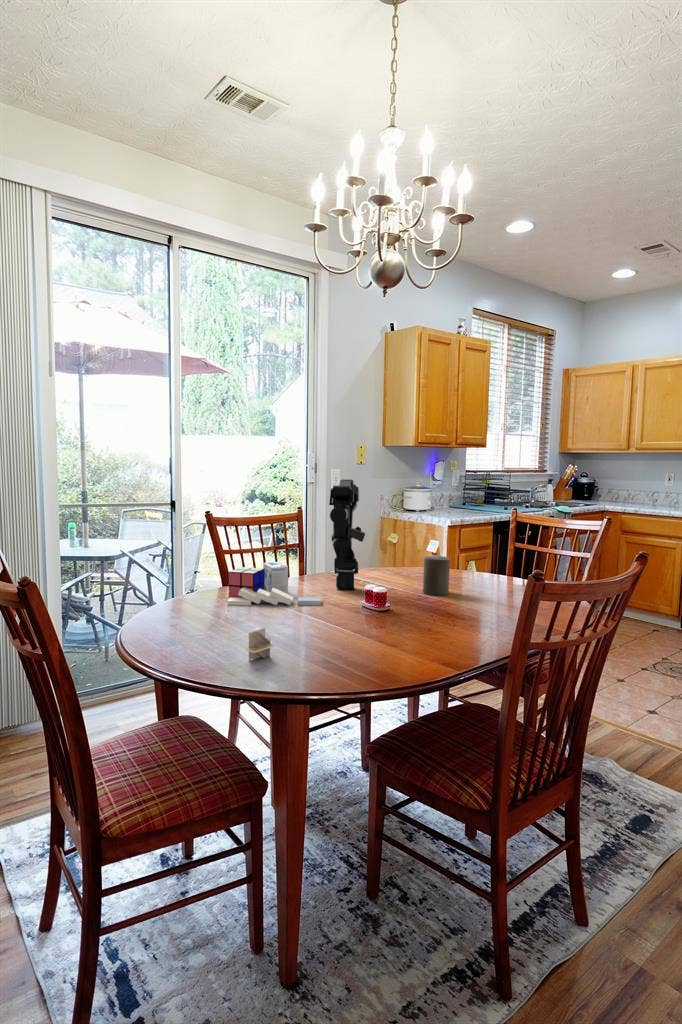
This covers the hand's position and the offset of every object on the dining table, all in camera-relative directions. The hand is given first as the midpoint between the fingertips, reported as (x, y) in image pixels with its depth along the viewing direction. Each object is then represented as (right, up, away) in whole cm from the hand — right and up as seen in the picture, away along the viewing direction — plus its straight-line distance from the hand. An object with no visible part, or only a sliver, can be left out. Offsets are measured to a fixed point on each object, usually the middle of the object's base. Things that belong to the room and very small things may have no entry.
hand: (340, 564), depth 209 cm
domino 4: (-17, -12, -5) cm, 22 cm away
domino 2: (-28, -12, -5) cm, 31 cm away
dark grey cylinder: (+36, -12, +13) cm, 41 cm away
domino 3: (-22, -13, -5) cm, 26 cm away
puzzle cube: (-34, -13, +4) cm, 37 cm away
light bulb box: (-25, -12, +12) cm, 30 cm away
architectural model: (-21, -19, -61) cm, 67 cm away
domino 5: (-7, -13, -4) cm, 15 cm away
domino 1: (-31, -13, -5) cm, 34 cm away
